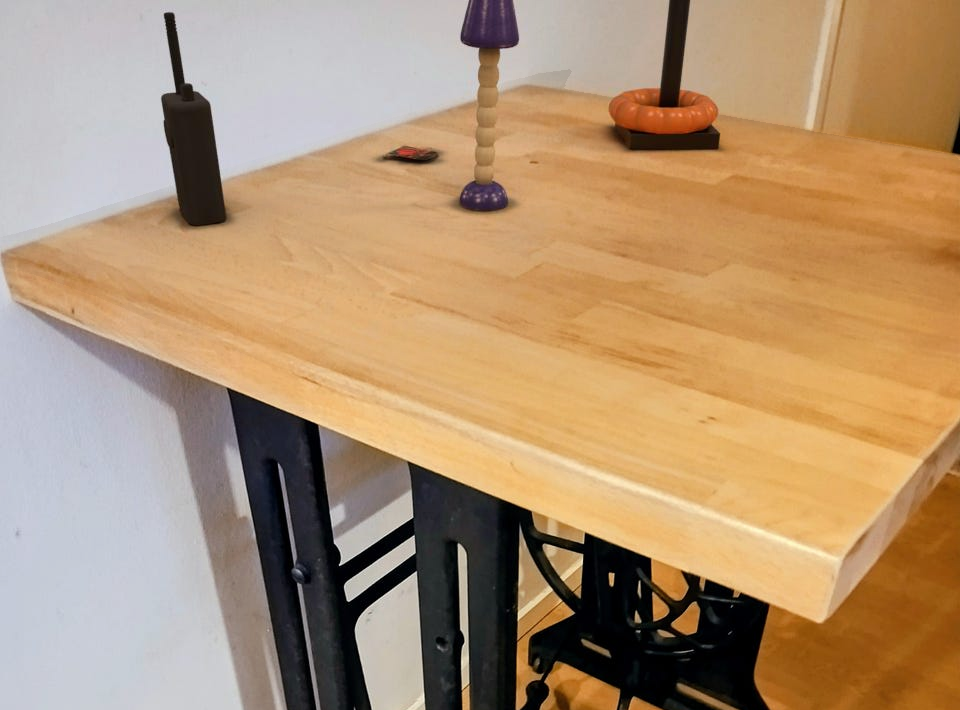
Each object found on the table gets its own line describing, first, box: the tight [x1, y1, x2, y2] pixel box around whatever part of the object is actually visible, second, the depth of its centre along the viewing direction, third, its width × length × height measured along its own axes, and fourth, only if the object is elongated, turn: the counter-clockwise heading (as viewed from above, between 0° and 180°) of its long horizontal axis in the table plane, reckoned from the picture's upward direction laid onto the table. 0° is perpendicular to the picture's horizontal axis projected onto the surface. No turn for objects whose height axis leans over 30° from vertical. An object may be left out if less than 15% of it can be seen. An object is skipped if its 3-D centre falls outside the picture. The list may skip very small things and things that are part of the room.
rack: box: [614, 0, 721, 151], centre depth 102 cm, size 9×9×14 cm
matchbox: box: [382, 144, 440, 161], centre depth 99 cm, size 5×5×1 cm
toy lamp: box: [458, 0, 520, 212], centre depth 83 cm, size 5×5×17 cm
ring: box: [608, 87, 719, 134], centre depth 104 cm, size 11×11×2 cm
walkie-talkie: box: [160, 11, 227, 226], centre depth 81 cm, size 5×3×15 cm
